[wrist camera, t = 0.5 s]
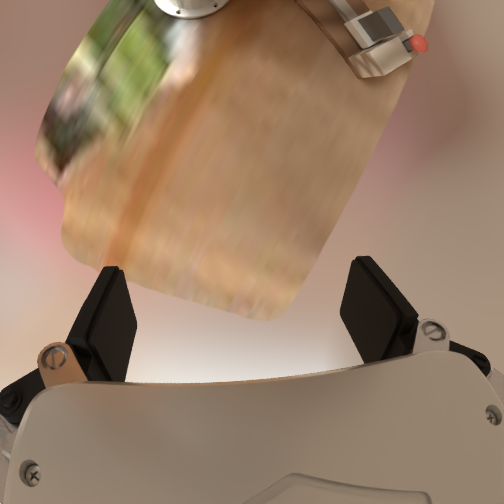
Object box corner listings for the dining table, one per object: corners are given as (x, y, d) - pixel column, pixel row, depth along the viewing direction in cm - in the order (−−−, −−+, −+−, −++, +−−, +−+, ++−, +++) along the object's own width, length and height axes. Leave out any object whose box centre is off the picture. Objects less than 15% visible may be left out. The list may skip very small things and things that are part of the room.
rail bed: (275, -20, 28) (287, -42, 21) (319, -39, 26) (337, -59, 19) (357, 78, 38) (384, 75, 30) (395, 55, 36) (424, 51, 28)
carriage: (340, 25, 32) (368, 11, 23) (361, 14, 30) (391, 1, 22) (359, 49, 34) (390, 41, 26) (379, 38, 33) (411, 29, 25)
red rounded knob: (394, 41, 29) (410, 37, 25) (405, 35, 28) (421, 32, 24) (404, 56, 30) (420, 54, 26) (415, 50, 29) (430, 48, 26)
